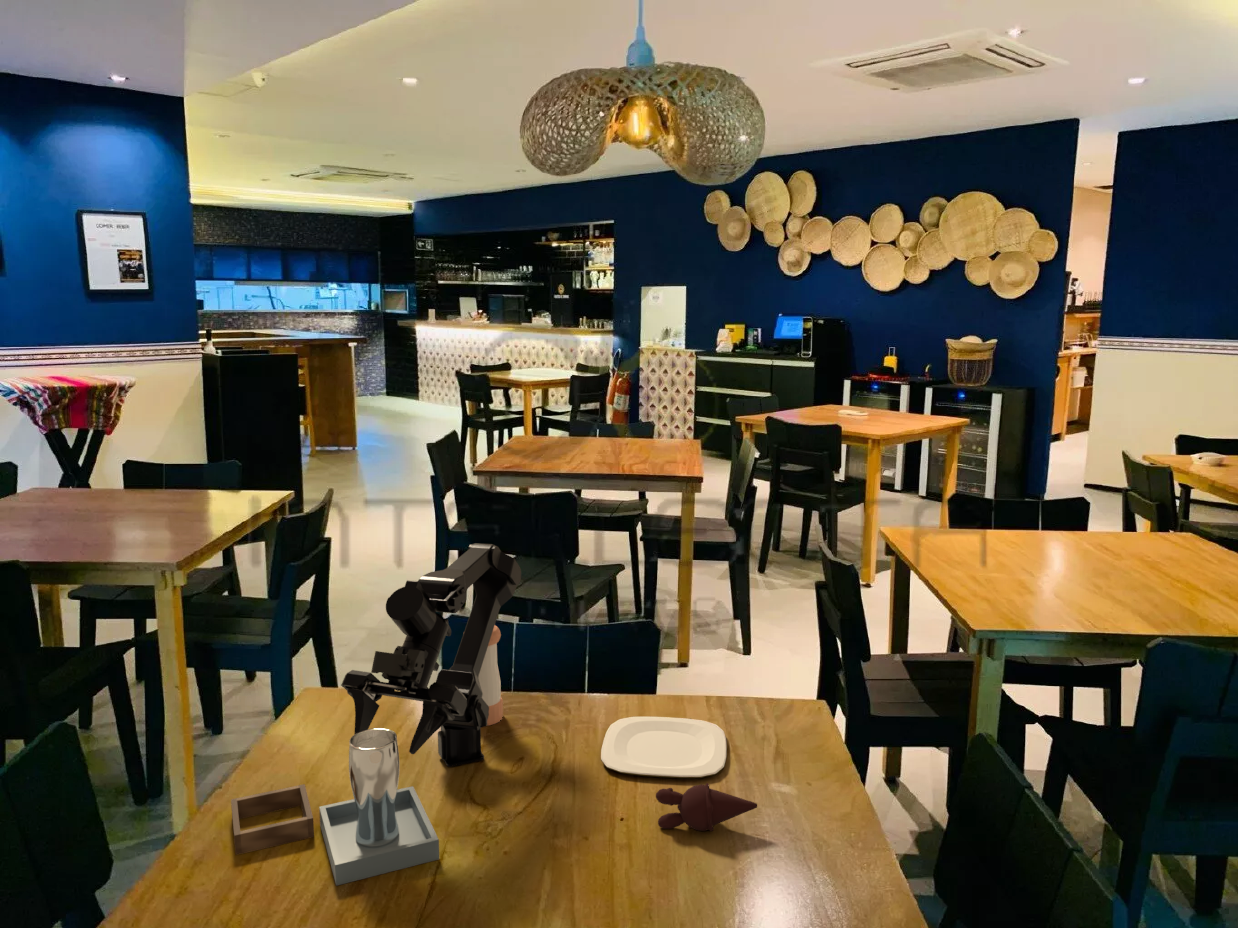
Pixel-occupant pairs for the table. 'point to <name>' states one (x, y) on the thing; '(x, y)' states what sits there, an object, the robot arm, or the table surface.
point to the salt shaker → (492, 680)
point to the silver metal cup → (374, 785)
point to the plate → (664, 747)
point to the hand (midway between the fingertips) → (383, 748)
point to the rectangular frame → (273, 832)
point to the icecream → (701, 807)
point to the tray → (363, 862)
